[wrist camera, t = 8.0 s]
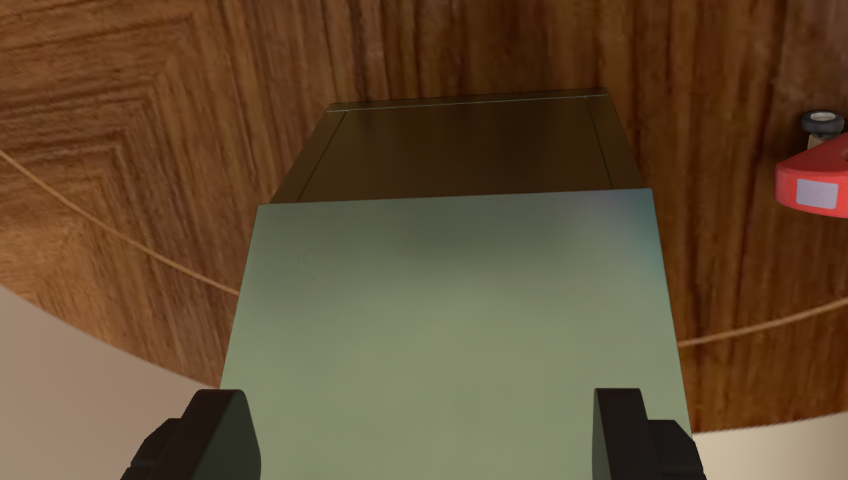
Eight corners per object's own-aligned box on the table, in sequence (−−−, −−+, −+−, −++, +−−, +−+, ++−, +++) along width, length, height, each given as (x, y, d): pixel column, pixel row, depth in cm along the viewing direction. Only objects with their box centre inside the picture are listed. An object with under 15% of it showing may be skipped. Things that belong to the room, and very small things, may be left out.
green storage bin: (599, 336, 33) (628, 491, 26) (368, 340, 35) (329, 487, 27) (607, 86, 28) (646, 188, 20) (329, 103, 29) (266, 204, 21)
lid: (737, 779, 13) (857, 812, 8) (162, 746, 14) (-26, 758, 9) (648, 205, 20) (684, 39, 15) (266, 220, 21) (187, 72, 16)
